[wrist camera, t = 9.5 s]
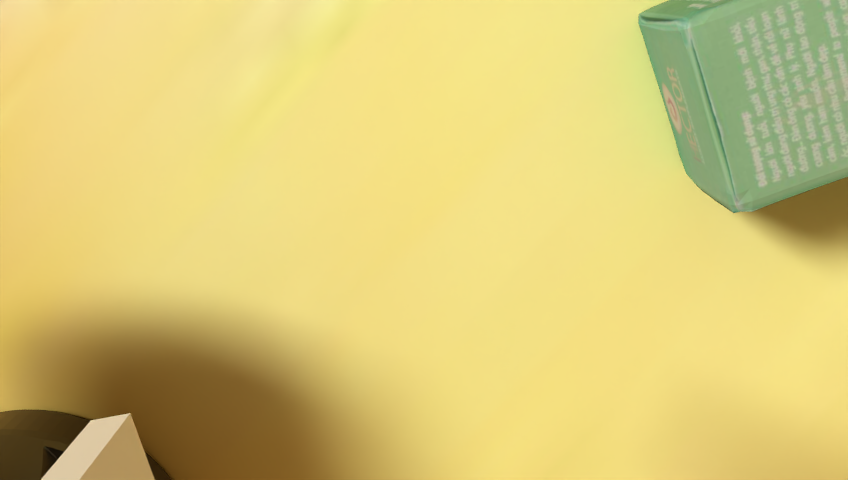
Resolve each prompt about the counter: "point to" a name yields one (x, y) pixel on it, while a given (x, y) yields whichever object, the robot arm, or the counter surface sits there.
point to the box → (754, 93)
